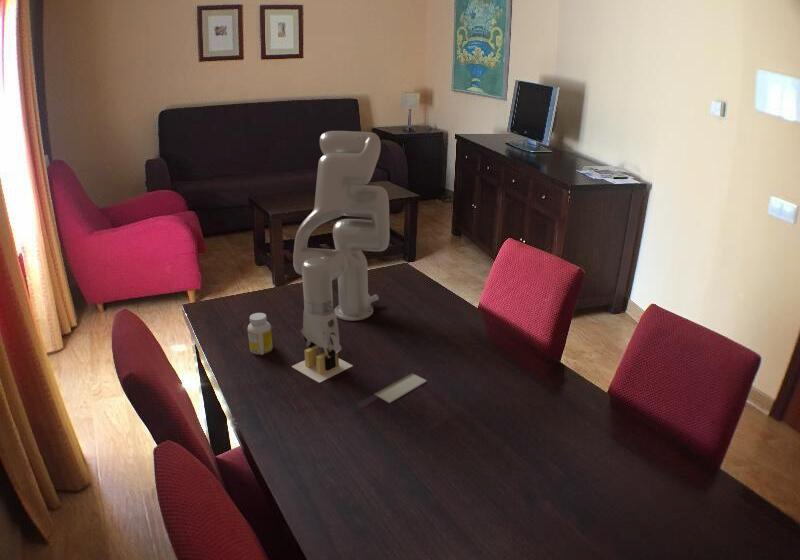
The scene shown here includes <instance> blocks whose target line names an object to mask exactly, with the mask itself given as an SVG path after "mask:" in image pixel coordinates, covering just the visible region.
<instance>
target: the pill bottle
mask: <svg viewBox="0 0 800 560" xmlns="http://www.w3.org/2000/svg"><path fill="white" fill-rule="evenodd" d="M267 320H268V318H267V314H266V313H263V312H256V313H252V314H250V316H249V322H250V323H249V324H248V326H247V335H248V337H247V338H248V344H249V345H248V346H249V351H250V353H249V354H250V355H251V354H253V355H255V356H256V355H257V356H261V355H262V356H263V355H267V354H270V353H271V352H273V349H274V347H273V337H272V326H271V323H269V321H267Z"/></svg>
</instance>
